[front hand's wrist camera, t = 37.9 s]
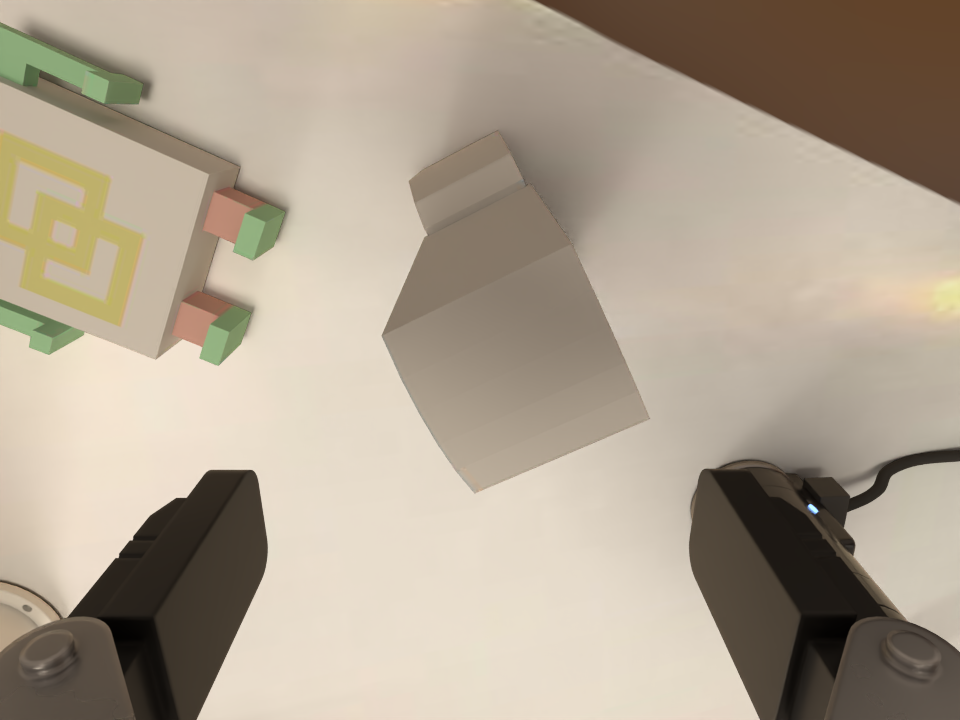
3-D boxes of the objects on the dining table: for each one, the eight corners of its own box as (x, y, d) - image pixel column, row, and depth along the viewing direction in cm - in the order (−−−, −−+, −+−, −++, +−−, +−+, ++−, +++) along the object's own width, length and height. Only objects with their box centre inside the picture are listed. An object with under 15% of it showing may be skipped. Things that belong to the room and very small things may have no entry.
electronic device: (569, 278, 49) (685, 496, 22) (484, 319, 51) (489, 575, 23) (500, 128, 45) (534, 156, 17) (409, 176, 47) (305, 274, 19)
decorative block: (-171, 277, 43) (-147, -33, 36) (-91, 256, 49) (-58, -13, 42) (198, 417, 47) (282, 162, 40) (230, 383, 53) (308, 155, 46)
